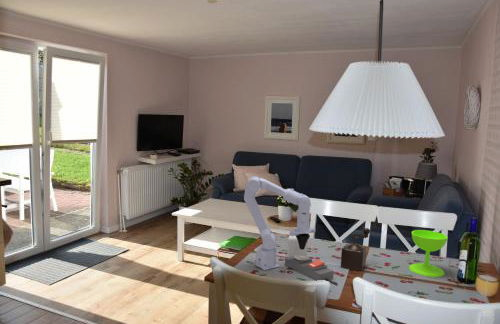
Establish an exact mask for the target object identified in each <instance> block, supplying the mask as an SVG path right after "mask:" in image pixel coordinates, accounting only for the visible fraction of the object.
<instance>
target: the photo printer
mask: <svg viewBox="0 0 500 324" xmlns="http://www.w3.org/2000/svg"><path fill="white" fill-rule="evenodd" d="M287 239H288V240H287V251H286V252H287V253H286V254H287V255H286V258H287V257H292V256H294V255H299V256H306V257H308V243H309V242H308V240H309V239H308V240H307V243H306V245H305V248H304V249H303V250H302V249H300V248H299V243H298V240H297V238H296V236H293V237H292V236H290V235H288V238H287Z"/></svg>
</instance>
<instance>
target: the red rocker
mask: <svg viewBox="0 0 500 324" xmlns="http://www.w3.org/2000/svg"><path fill="white" fill-rule="evenodd" d="M322 265H325V262H324V261H323V260H320V259H316V260H314V261H312V263H310V264H308V266H310V267H312V268H318V267H321V266H322Z"/></svg>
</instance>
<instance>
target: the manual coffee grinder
mask: <svg viewBox="0 0 500 324" xmlns="http://www.w3.org/2000/svg"><path fill="white" fill-rule="evenodd" d="M362 232H363V235H362V236H357V233H353V236H352V238H353V242H352V243H350V244H349V243H346V244H345V245H344V246H343V247H342V248H341V254H340V255H341V256H340V268H342V269H348V270H353V271H357V272H362V271H363V270H364V269H365V268H366V264H367V263H366V260H367V246H363V245H362V244H361V245H360V244H358V243H356V242H357V241H356V239H367V238H369V234H370V233H371V229H370V228H367V227H364V228H362Z"/></svg>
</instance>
